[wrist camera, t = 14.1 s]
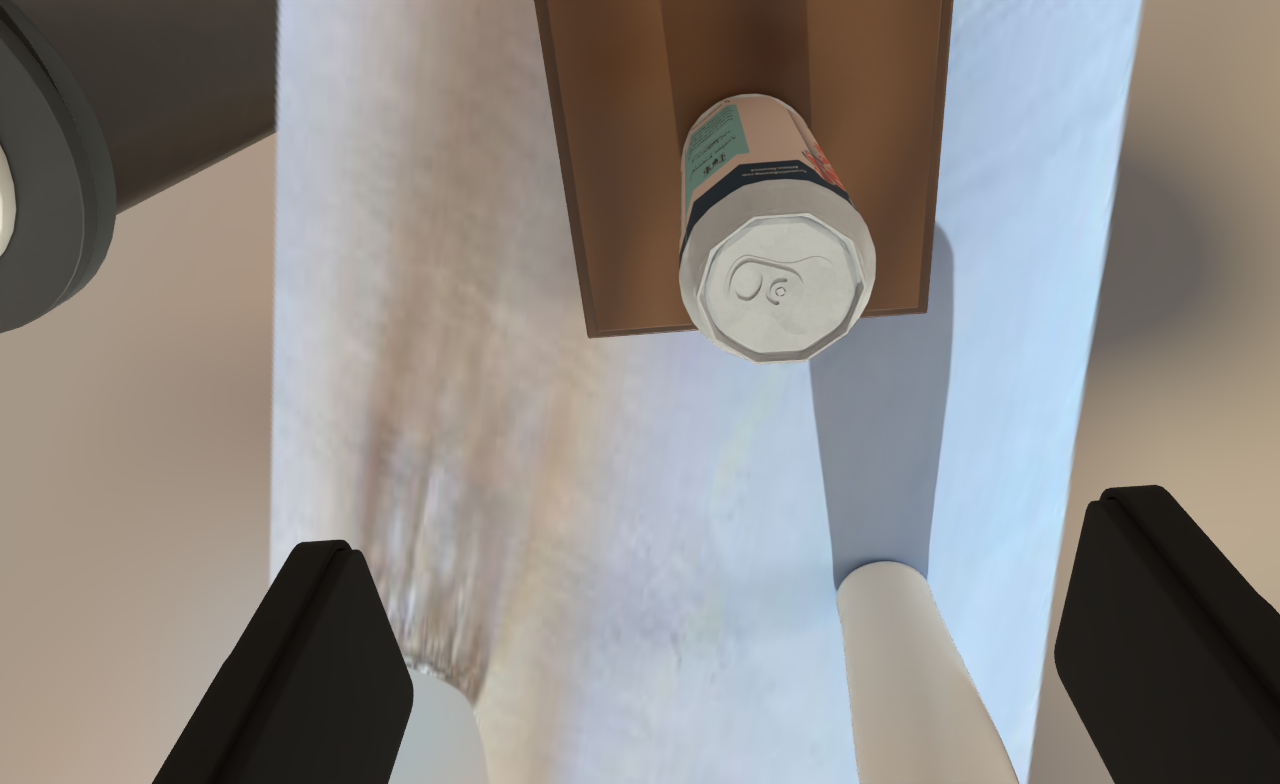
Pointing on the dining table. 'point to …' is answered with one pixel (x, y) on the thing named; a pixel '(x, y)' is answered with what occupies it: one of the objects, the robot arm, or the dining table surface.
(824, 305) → the beer can
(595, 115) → the walnut block
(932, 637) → the drinking glass
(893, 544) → the dining table surface
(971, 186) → the dining table surface
